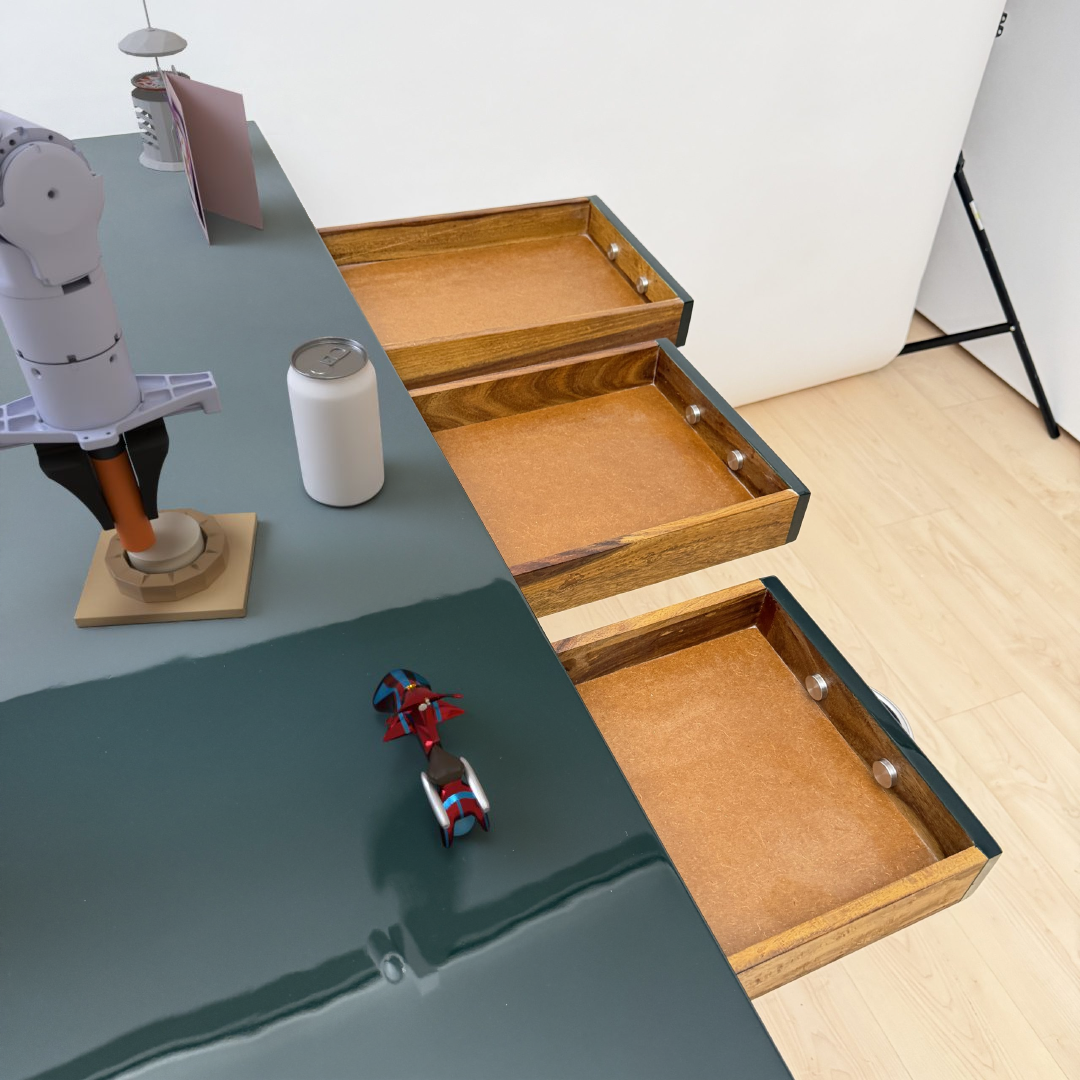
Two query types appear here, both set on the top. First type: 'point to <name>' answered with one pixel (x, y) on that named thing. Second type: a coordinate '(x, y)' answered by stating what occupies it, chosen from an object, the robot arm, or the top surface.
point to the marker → (123, 496)
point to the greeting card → (215, 150)
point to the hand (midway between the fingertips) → (129, 515)
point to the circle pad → (170, 545)
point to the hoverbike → (433, 751)
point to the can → (336, 420)
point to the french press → (155, 96)
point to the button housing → (173, 578)
